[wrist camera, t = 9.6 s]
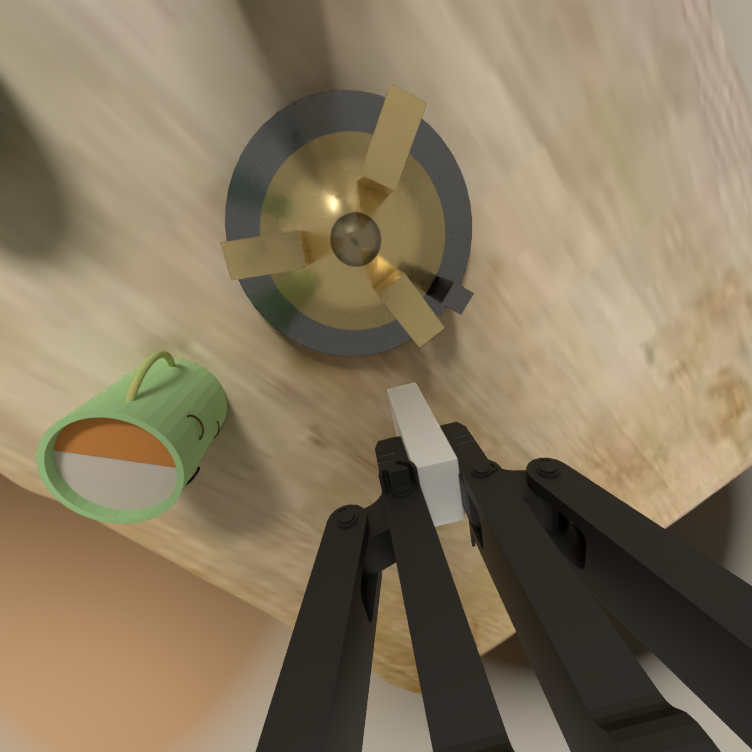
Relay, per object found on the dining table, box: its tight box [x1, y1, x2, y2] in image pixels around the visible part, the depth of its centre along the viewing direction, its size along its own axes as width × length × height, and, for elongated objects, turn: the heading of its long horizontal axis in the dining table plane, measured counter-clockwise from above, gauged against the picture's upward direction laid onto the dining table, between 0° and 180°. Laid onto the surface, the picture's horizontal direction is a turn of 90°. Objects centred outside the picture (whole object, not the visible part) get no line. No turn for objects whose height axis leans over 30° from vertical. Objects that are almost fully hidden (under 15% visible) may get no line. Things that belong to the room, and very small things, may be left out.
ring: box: [225, 90, 474, 356], centre depth 31 cm, size 22×22×7 cm
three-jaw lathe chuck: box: [221, 83, 445, 348], centre depth 29 cm, size 17×18×6 cm
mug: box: [36, 351, 228, 524], centre depth 32 cm, size 13×10×12 cm
